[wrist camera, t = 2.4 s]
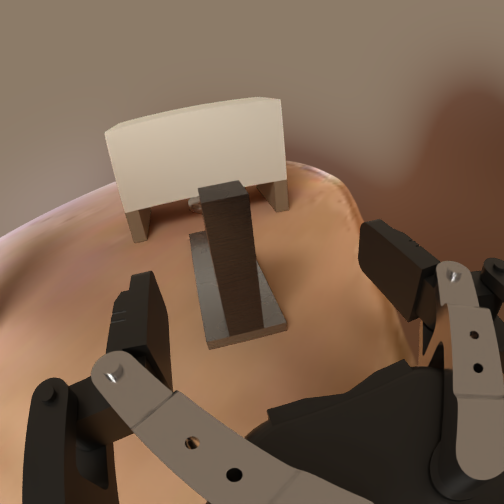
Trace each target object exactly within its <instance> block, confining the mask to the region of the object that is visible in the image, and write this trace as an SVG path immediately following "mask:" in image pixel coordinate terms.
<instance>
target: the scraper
mask: <svg viewBox="0 0 504 504" xmlns="http://www.w3.org/2000/svg"><path fill="white" fill-rule="evenodd" d="M198 194H199V199H200V204H201V209H202V215H203V220H204V225H205V230H206V231H201V232H197V233H192V234H189V237H190V244H191V251H192V258H193V265H194V272H195V278H196V284H197V291H198V297H199V303H200V309H201V314H202V320H203V326H204V331H205V337H206V342H207V345H208V348H209V350H211V349H215V348H220V347H224V346H228V345H232V344H237V343H241V342H245V341H249V340H253V339H257V338H261V337H264V336H268V335H272V334H276V333H279V332H283V331H287V322H286V320H285V318H284V316H283V314H282V312H281V310H280V308H279V306H278V304H277V302H276V299H275V297H274V295H273V293H272V291H271V289H270V287H269V285H268V283H267V281H266V279H265V277H264V275H263V273H262V271H261V269H260V266H259V264H258V262H257V260H256V254H255V245H254V237H253V228H252V220H251V211H250V203H249V194H248V192H247V191H246V190H245V188H244V187H243V185H242V184H241V182H240V181H239V180H237V181H231V182H226V183H221V184H216V185H211V186H206V187H201V188H198Z"/></svg>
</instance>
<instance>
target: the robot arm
mask: <svg viewBox="0 0 504 504" xmlns="http://www.w3.org/2000/svg"><path fill="white" fill-rule="evenodd" d="M358 261H359V265H360V268H361V269H362V271H363V272H364V273H365V274H366V276H367V277H368V278H369V279H370V280H371V281H372V282H373V283H374V284H375V285H376V286H377V288H378V289H379V290H380V291H381V292H382V293H383V294H384V295H385V296H386V298H387V299H388V300H389V301H390V302H391V303H392V304H393V305H394V307H395V308H396V309H397V310H398V311H399V312H400V313H401V314H402V316H403V317H404V318H405V319H406V320H407V322H410V321H412V320H415V319H417V318H419V317H420V319H421V323H420V327H419V361H418V366H417V367H410V366H409V365H408V363H407V362H406V361H405V359H403V360H401V361H398V362H396V363H394V364H392V365H390V366H387V367H385V368H383V369H381V370H378V371H376V372H374V373H373V374H372V375H370V376H369V377H368V378H366V379H365V380H364V381H362V382H361V383H360V384H358V385H357V386H356V387H354V388H353V389H351V390H350V391H348V392H346V393H344V394H337V395H330V396H322V397H313V398H304V399H301V400H298V401H295V402H292V403H288V404H285V405H282V406H278V407H275V408H271V409H268V410H267V413H268V419H269V420H267V421H266V422H264V423H262V424H260V425H259V426H258V427H256V428H255V429H253V430H252V431H251V432H250V433H249V434H248V435H247V436H246V437H245V438H243V437H242V436H240V435H239V434H237V433H236V432H234V431H233V430H231V429H230V428H228V427H227V426H225V425H224V424H223V423H221V422H220V421H218V420H217V419H216V418H214V417H213V416H212V415H210V414H209V413H207V412H206V411H205V410H203V409H202V408H201V407H199V406H198V405H197V404H196V403H194V402H193V401H192V400H190V399H189V398H188V397H187V396H185V395H184V394H183V393H181V392H179V391H177V390H176V391H175V392H173V385H172V373H171V359H170V343H169V322H168V314H167V310H166V306H165V303H164V301H163V298H162V295H161V293H160V290H159V287H158V284H157V282H156V279H155V276H154V274H153V272H152V271H148V272H144V273H139V274H135V275H132V276H131V281H130V287H129V290H128V291H123V292H121V293H120V295H119V296H118V298H117V299H116V300H115V302H114V306H113V312H112V313H113V315H112V317H111V324H110V329H109V335H108V342H107V348H106V354H105V355H104V356H102V357H101V358H100V359H98V360H97V362H96V363H95V364H94V366H93V368H92V371H91V376H90V377H88V378H86V379H84V380H82V381H79V382H77V383H75V384H73V385H70V386H68V385H67V384H66V383H65V382H64V381H63V380H62V379H60V378H49V379H47V380H45V381H43V382H42V383H40V384H39V385H38V386H37V388H36V389H35V391H34V393H33V395H32V399H31V405H30V411H29V418H28V425H27V432H26V441H25V451H24V464H23V486H22V504H119V499H118V491H117V482H116V473H115V462H114V448H113V442H114V441H117V440H119V439H122V438H124V437H126V436H129V435H131V434H133V433H135V434H136V436H137V437H138V438H139V439H140V440H141V441H142V442H143V443H144V444H145V445H146V446H147V447H148V448H149V449H150V450H151V451H152V452H153V453H154V454H155V455H156V456H157V457H158V458H159V459H160V460H161V461H162V462H163V463H164V464H165V465H166V466H167V467H168V468H170V469H171V470H172V471H173V472H174V473H175V474H176V475H177V476H178V477H180V478H181V479H182V480H183V481H184V482H185V483H186V484H188V485H189V486H190V487H191V488H192V489H193V490H195V491H196V492H197V493H198V494H200V495H201V496H202V497H203V498H205V499H206V500H207V502H206V504H504V383H503V375H502V372H503V373H504V322H503V321H502V320H501V319H500V318H499V317H498V316H497V314H498V312H499V310H500V308H501V305H502V303H503V302H504V261H502V260H500V259H497V258H488V259H486V260H485V262H484V265H483V267H482V271H474V272H470V271H469V270H468V269H467V268H466V267H465V266H463V265H462V264H460V263H457V262H453V261H444V262H440V261H439V260H437V259H436V258H435V257H434V256H432V255H431V254H430V253H429V252H427V251H426V250H425V249H424V248H422V247H421V246H419V244H417V243H416V242H415V241H412V239H411V238H410V237H408V236H407V235H406V234H404V233H403V232H400V231H397V230H395V229H393V228H392V227H390V226H389V225H387V224H386V223H385V222H383V221H382V220H380V219H377V220H373V221H369V222H364V223H362V224H361V227H360V239H359V253H358Z"/></svg>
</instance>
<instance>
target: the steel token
mask: <svg viewBox="0 0 504 504" xmlns="http://www.w3.org/2000/svg"><path fill="white" fill-rule="evenodd" d="M188 205H189V209H190V210H191V211H192V212H197V213H202V209H201V204H200V199H199V196H197V197H192V198H190V199H189V200H188Z"/></svg>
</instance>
